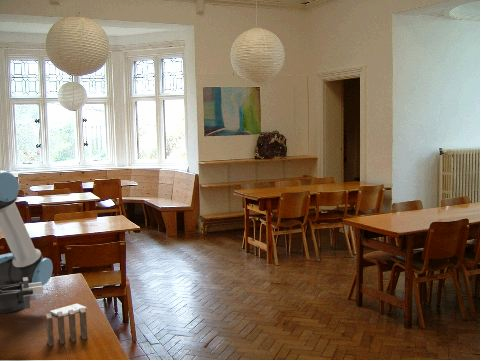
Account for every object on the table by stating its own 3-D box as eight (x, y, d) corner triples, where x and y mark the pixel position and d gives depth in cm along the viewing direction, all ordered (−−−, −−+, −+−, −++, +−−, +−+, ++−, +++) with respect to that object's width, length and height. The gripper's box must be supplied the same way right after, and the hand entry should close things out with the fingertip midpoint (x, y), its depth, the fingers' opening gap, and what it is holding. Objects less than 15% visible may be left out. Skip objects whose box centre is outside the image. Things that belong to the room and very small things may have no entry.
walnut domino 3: (71, 341, 187) (70, 314, 186) (69, 337, 191) (68, 310, 190) (76, 340, 188) (74, 313, 187) (74, 336, 192) (72, 309, 191)
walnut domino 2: (60, 344, 185) (58, 316, 184) (58, 339, 190) (57, 312, 189) (65, 343, 186) (63, 315, 185) (63, 338, 190) (61, 311, 190)
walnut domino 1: (49, 346, 184) (47, 318, 183) (47, 341, 188) (45, 314, 187) (54, 345, 184) (52, 317, 183) (52, 340, 189) (50, 313, 188)
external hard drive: (49, 314, 218) (76, 306, 227) (59, 318, 212) (86, 310, 221) (49, 310, 218) (76, 302, 227) (58, 315, 212) (86, 306, 221)
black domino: (25, 308, 185) (23, 281, 184) (24, 304, 189) (22, 277, 189) (30, 308, 186) (28, 280, 185) (29, 304, 190) (27, 277, 189)
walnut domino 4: (83, 339, 189) (81, 312, 188) (80, 334, 193) (79, 308, 192) (87, 338, 189) (85, 311, 188) (85, 334, 194) (83, 307, 193)
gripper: (-29, 301, 188) (41, 291, 198) (-31, 316, 172) (44, 304, 181) (-31, 280, 187) (39, 271, 197) (-33, 294, 171) (43, 283, 181)
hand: (42, 287), depth 189 cm, fingers closed on black domino, 5 cm apart
